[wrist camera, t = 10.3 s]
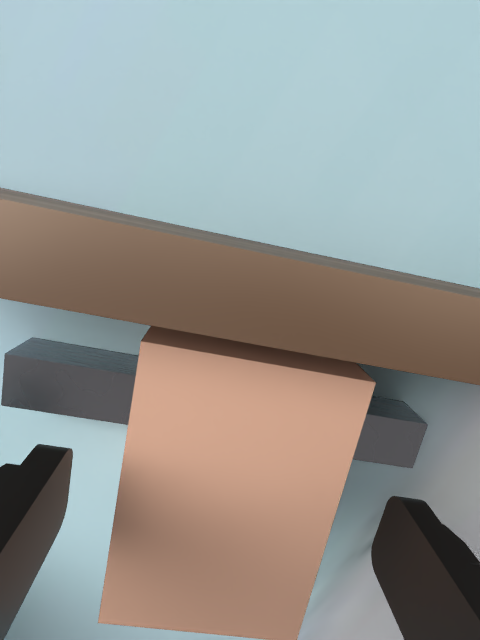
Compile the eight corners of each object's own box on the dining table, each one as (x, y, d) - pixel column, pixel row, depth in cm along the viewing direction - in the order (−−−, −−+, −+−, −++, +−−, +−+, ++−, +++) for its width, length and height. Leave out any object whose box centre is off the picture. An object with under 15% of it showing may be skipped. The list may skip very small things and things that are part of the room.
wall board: (-72, 172, 14) (-595, 75, 5) (530, 299, 16) (903, 386, 7) (-73, 215, 14) (-563, 195, 5) (517, 332, 16) (858, 453, 8)
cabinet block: (175, 289, 15) (140, 341, 8) (307, 315, 16) (375, 382, 9) (145, 463, 17) (98, 623, 10) (265, 480, 17) (295, 641, 11)
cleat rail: (31, 337, 15) (4, 353, 13) (403, 401, 17) (427, 424, 15) (28, 383, 16) (1, 405, 14) (390, 441, 17) (412, 468, 15)
